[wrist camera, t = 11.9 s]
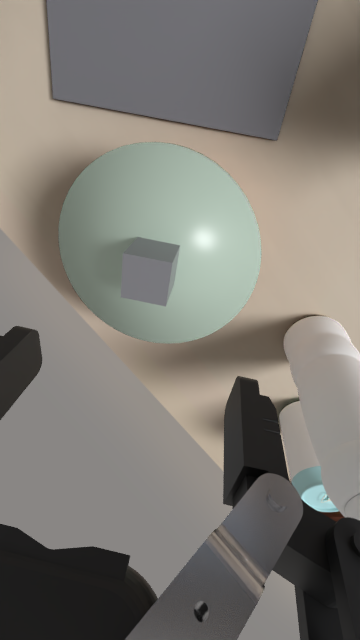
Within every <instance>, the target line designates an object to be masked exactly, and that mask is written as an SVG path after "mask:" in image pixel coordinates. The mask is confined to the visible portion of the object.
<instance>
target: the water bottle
mask: <svg viewBox="0 0 360 640" xmlns="http://www.w3.org/2000/svg"><path fill="white" fill-rule="evenodd" d="M283 345H284V350H285V354H286V356H287V359H288V361H289V363H290V369H291V374H292V377H293V380H294V382H295V384H296V386H297V388H298V395H299V400H300V404H301V408H302V412H303V416H304V419H305V423H306V426H307V430H308V433H309V436H310V439H311V442H312V445H313V448H314V451H315V454H316V456H317V459H318V461H319V464H320V466H321V479H322V483H323V486H324V489H325V491H326V493H327V495H328V497H329V498H330V500H331V501H332V503H333V504H334V505H335V506H336V508H337V509H338V510H339V511H340V513H341V514H342V515H343V516H344V517H350V518H355V519H357V520H359V521H360V353H359V352H358V350H357V349H356V348H355V346H354V345H353V344H352V342H351V340H350V338H349V336H348V334H347V332H346V331H345V329H344V328H343V326H342V325H341V324H340V323H339V322H337V321H336V320H334V319H332V318H329V317H325V316H311V317H307V318H304V319H301V320H299V321H297V322H296V323H294V324H293V325H292V326H291V327H290V328H289V329H288V331H287V332H286V334H285V337H284V341H283Z"/></svg>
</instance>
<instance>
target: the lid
mask: <svg viewBox="0 0 360 640" xmlns="http://www.w3.org/2000/svg"><path fill="white" fill-rule="evenodd" d="M58 231H59V248H60V255H61V259H62V262H63V266H64V269H65V271H66V274H67V276H68V279H69V281H70V282H71V284H72V286H73V288H74V290H75V291H76V293H77V294H78V296H79V297H80V299H81V300H82V301H83V302H84V303H85V305H86V306H87V307H88V308H89V309H90V310H91V311H92V312H93V313H94V314H95V315H96V316H97V317H99V318H100V319H101V320H102V321H104V322H105V323H106V324H108V325H110V326H111V327H113V328H114V329H116V330H118V331H120V332H122V333H124V334H126V335H129V336H131V337H134V338H137V339H140V340H144V341H148V342H155V343H168V344H170V343H182V342H188V341H193V340H196V339H199V338H202V337H205V336H207V335H209V334H212V333H213V332H215V331H217V330H219V329H220V328H222V327H223V326H225V325H226V324H227V323H228V322H230V321H231V320H232V319H233V318H234V317H235V316H236V315H237V314H238V313H239V312H240V310H241V309H242V308H243V307H244V305H245V304H246V302H247V301H248V299H249V297H250V295H251V294H252V292H253V289H254V287H255V284H256V282H257V278H258V274H259V270H260V263H261V239H260V233H259V227H258V224H257V221H256V218H255V215H254V212H253V210H252V208H251V205H250V203H249V201H248V199H247V197H246V196H245V194H244V193H243V191H242V189H241V188H240V186H239V185H238V184H237V183H236V181H235V180H234V179H233V178H232V177H231V176H230V175H229V174H228V173H227V172H226V171H225V170H224V169H223V168H222V167H220V166H219V165H218V164H217V163H216V162H214V161H212V160H211V159H209V158H208V157H206V156H204V155H203V154H201V153H198V152H196V151H194V150H192V149H189V148H187V147H183V146H179V145H175V144H170V143H161V142H145V143H135V144H131V145H126V146H122V147H119V148H117V149H114V150H112V151H109V152H107V153H106V154H104V155H102V156H101V157H99V158H97V159H96V160H95V161H93V162H92V163H91V164H90V165H89V166H87V167H86V168H85V169H84V170H83V172H82V173H81V174H80V175H79V176H78V177H77V178H76V180H75V181H74V183H73V185H72V186H71V188H70V190H69V191H68V194H67V196H66V198H65V201H64V203H63V207H62V210H61V214H60V220H59V229H58Z"/></svg>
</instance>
